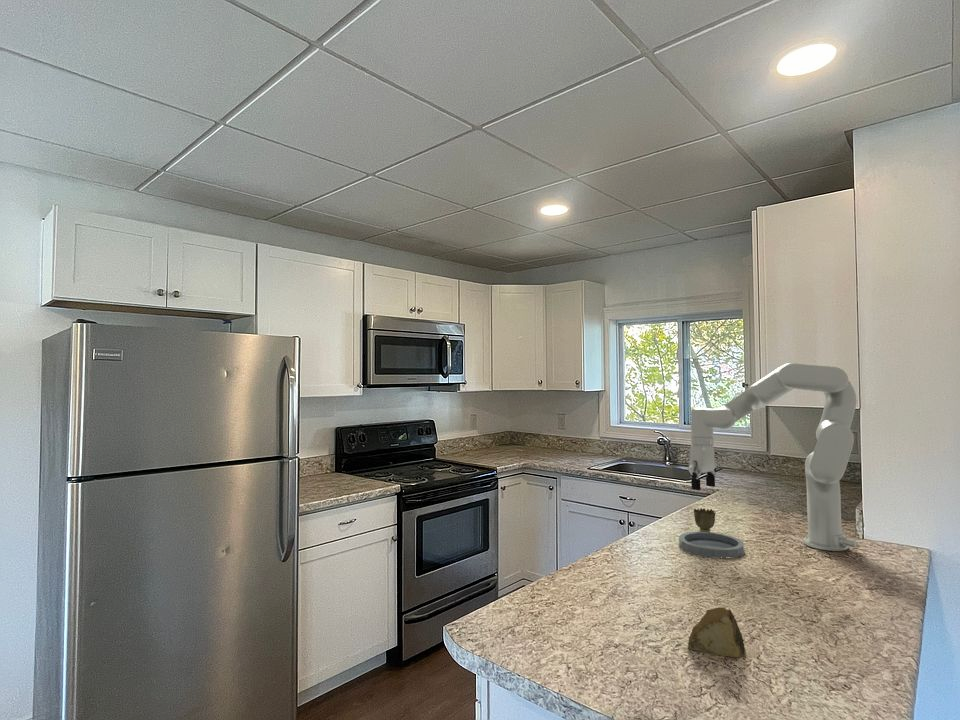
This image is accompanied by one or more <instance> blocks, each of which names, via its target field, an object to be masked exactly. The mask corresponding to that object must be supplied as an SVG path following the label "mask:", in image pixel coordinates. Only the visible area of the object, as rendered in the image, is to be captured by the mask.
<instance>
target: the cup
mask: <svg viewBox="0 0 960 720" xmlns="http://www.w3.org/2000/svg"><path fill="white" fill-rule="evenodd" d="M693 515H694V522H695V525H696V526H697V527H698V530H699V532H711V529H712V528H713V527H714V526H715V522H716V520H715V519H716V511H715V510H713V509H712V508H711V509H709V508H707V509H705V508H700V509H699V507H698V508H694V509H693Z"/></svg>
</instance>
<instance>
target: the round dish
mask: <svg viewBox="0 0 960 720" xmlns="http://www.w3.org/2000/svg"><path fill="white" fill-rule="evenodd" d="M678 546H679V548H680V547H681V548H682V549H681V548H680V549H681V550H683V551H684V550H685V552H686V551H687V553H689V552H690V553H689V554H692V553H693V554H692V555H695V554H696V555H695V556H699V555H700V556H701V557H704V556H706V557H705V558H710V557H719V558H718V559H727V558H726V557H736V558H738V557H737V556H740V555H742V556H744V555H745V553H746V550H745V542H744V541H742V540H741V538H740V539H739V538H737V537H735V536H733V535H729V534H725V533H720V532H714V531H710V532H700V531H687V532H684V533H681V534H680V535H679V536H678ZM744 552H745V553H744ZM743 554H744V555H743ZM721 557H722V558H721ZM740 557H741V556H740Z"/></svg>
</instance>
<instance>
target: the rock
mask: <svg viewBox="0 0 960 720" xmlns="http://www.w3.org/2000/svg"><path fill="white" fill-rule="evenodd" d="M687 649H688V650H690V651H691V650H692V651H697V652H701V653H706V654H712V655H715V656H716V655H717V656H722V657H731V658H738V659H739V658H740V657H742V656H744V655H745V654H746V652H747V651H746V647H745V642H744V638H743V634H742V633H741V631H740V627H739V625H738V622H737V620H736V618H735V616H734V614H733V611H732V610H731V609H726V608H725V607H715V608H712V609H707V610H706V611H705V614H704V615H703V616H702V618H700V620H699V621H698V623H697V624H696V625H694V626H693V627H692V630H691V633H690V635H689V637H688V642H687Z"/></svg>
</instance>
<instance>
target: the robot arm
mask: <svg viewBox="0 0 960 720" xmlns="http://www.w3.org/2000/svg"><path fill="white" fill-rule="evenodd" d="M794 389H796V390H803V391H812V392H821V393H822V392H823V394H824V397H825V403H824V406H823V411H822V414H821V417H820V420H819V423H818V426H817V428H816V430H815V438H816V440H817V441H816V444H815V447H814V449H813V451H812V452H811V453H809V454H808V455H807V457H806V458H805V462H804V470H805V471H804V473H805V474H804V475H805V483H806V510H807V511H806V512H807V513H806V514H807V536H805V537H803V539H802V542H803V543H802V544H804V545H806V546H807V547H811V548H812V549H817V550H821V551H828V552H830V551H832V552H843V551H848V549H849V547H853V548H856V547H857V545H858V543H857V541H856V540H855V539H851V538H847V537H846V533H843V532H842V528H843V527H842V508H841V506H842V505H841V500H842V499H841V497H842V496H841V485H840V480H841V479H842V478H843V476H844V474H845V472H846V469H847V466H848V464H849V461H850V456H851V454H852V452H853V451H852V450H853V447H854V443H855V442H854V441H855V436H854V433H853V431H852V429H851V426H852V422H853V419H854V416H855V413H856V412H855V411H856V408H857V394H856V391H855V388H854V386H853V385H852V383H851V381H849V377H848V374H847V373H846V371H845V370H843V369H842V368H839V367H836V366H830V365H829V366H827V365H813V364H806V363H805V364H803V363H797V362H796V363H794V362H790V363H788V362H787V363H785V364H783V365H781V366H780V367H777V368H776V369H775V370H773V371H772V372H770V373H769V374H767V375H766V376H764V377H762V378H761V379H759V380H758V381H756V382H755V383H753V384H752V385H749V386H748V387H747V388H746V389H745V390H744V391H743V392H742V393H739V394H738V395H737V396H736V397H734V398H732V399H731V400H729V401H728V402H726V403H725V404H723V405H721V406H720V407H718V408H713V409H712V408H710V407H694V408H693V407H692V409H691V410H690V430H691V431H690V433H691V434H690V437H691V439H690V441H691V445H690V448H689V449H690V451H689V465H688V468H687V469H688V473H689V476H690V477H689V478H690V480H691V490H694V491H701V479H700V477H701V474H706V475H705V482H706V487H713V488H714V487H716V477H715V476H716V471H717V466H718V463H717V461H715V460H716V459H715V449H714V428H715V429H721V430H722V429H723V430H727V429H730V428H732V427H734V426H735V424H736V423H737V422H738V421H740V420H742V419H743V418H745V417H747V416H748V415H750V414H751V413H753V412H755V411H757V410H760V409H763V408H765V407H768V405H770V404H772V403H774V402H775V401H777V400H778V399H780V398H781V397H783V396H784V395H786V394H788V393H789V392H791V391H793V390H794Z"/></svg>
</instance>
